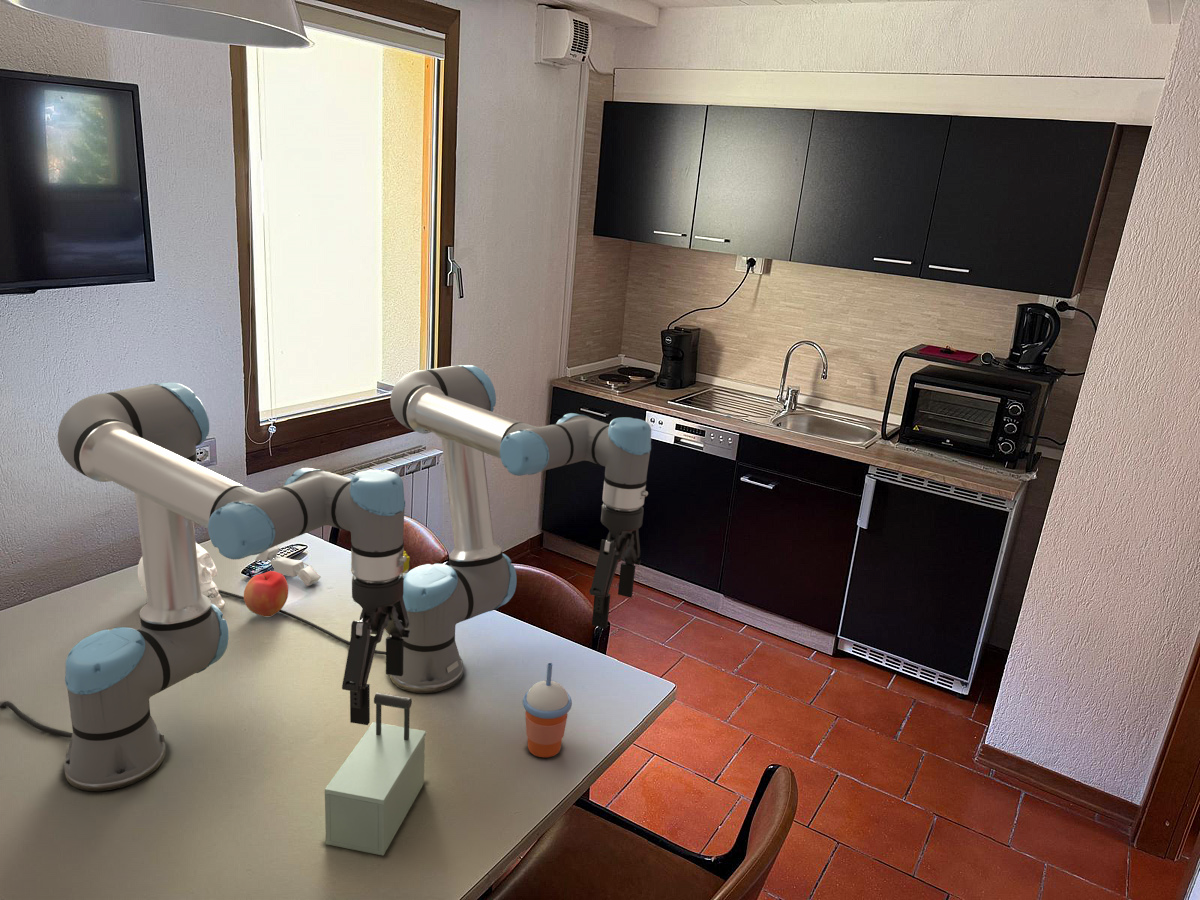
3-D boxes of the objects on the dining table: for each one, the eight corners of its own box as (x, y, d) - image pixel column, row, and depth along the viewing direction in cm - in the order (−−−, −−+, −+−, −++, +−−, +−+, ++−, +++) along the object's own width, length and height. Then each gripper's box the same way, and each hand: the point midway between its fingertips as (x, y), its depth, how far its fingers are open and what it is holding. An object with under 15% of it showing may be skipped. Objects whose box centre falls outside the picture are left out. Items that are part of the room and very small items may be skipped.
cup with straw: (561, 767, 156) (568, 681, 151) (513, 757, 158) (518, 672, 153) (573, 737, 165) (579, 655, 160) (527, 729, 167) (532, 647, 161)
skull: (204, 625, 194) (201, 560, 189) (125, 605, 199) (121, 542, 195) (243, 602, 206) (242, 541, 202) (168, 584, 212) (165, 524, 207)
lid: (373, 725, 149) (373, 681, 146) (426, 734, 147) (426, 691, 145) (324, 793, 132) (323, 745, 129) (383, 804, 130) (383, 756, 128)
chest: (372, 773, 151) (372, 727, 148) (423, 783, 150) (424, 737, 147) (325, 844, 135) (324, 793, 132) (383, 855, 133) (383, 805, 130)
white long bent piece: (253, 565, 223) (254, 542, 221) (265, 560, 226) (266, 537, 224) (309, 593, 215) (310, 569, 213) (320, 588, 218) (321, 564, 216)
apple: (273, 600, 207) (272, 562, 204) (297, 613, 202) (296, 575, 199) (237, 614, 200) (234, 575, 197) (261, 628, 194) (259, 588, 191)
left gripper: (367, 616, 115) (368, 749, 121) (430, 544, 139) (428, 659, 145) (315, 608, 116) (318, 741, 122) (386, 538, 140) (386, 653, 146)
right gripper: (618, 532, 141) (607, 645, 147) (663, 488, 163) (652, 588, 169) (577, 522, 143) (567, 634, 149) (626, 480, 165) (617, 579, 172)
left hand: (378, 697), depth 134 cm, fingers open, 13 cm apart
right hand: (612, 610), depth 159 cm, fingers open, 13 cm apart
